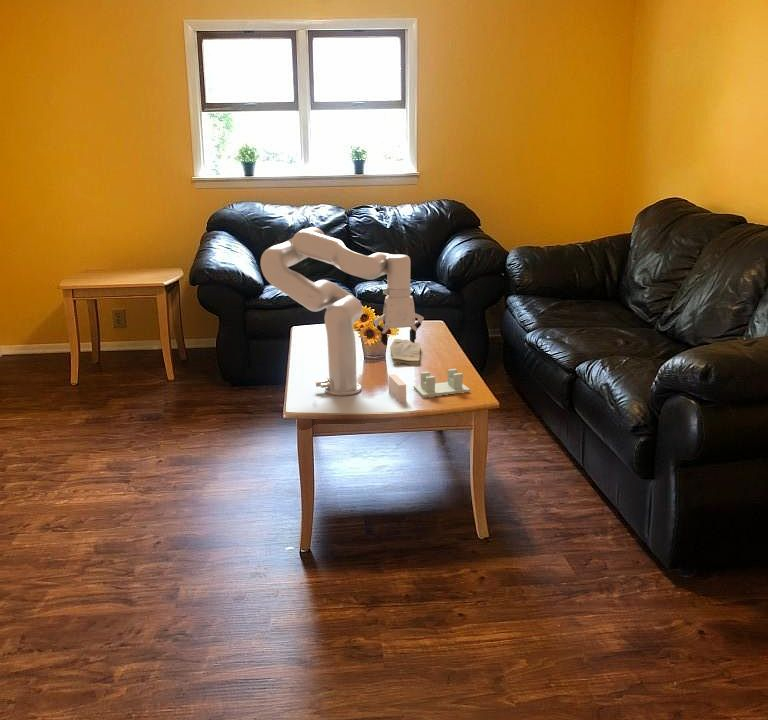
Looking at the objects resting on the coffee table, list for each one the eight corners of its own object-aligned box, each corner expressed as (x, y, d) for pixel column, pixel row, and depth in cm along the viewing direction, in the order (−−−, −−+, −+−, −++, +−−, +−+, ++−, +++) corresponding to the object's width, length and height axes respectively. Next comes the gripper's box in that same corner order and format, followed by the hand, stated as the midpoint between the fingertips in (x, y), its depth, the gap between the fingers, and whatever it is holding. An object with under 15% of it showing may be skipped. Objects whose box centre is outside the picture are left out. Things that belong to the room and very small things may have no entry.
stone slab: (419, 338, 319) (421, 355, 290) (419, 347, 320) (421, 366, 291) (390, 337, 320) (389, 355, 291) (390, 347, 321) (389, 366, 292)
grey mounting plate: (422, 398, 255) (422, 380, 254) (413, 389, 265) (413, 371, 263) (469, 392, 260) (470, 374, 258) (458, 383, 269) (459, 366, 267)
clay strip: (406, 401, 253) (406, 384, 251) (399, 402, 252) (398, 385, 250) (395, 390, 264) (395, 374, 262) (388, 391, 263) (388, 374, 262)
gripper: (376, 296, 243) (377, 348, 248) (427, 293, 247) (426, 343, 253) (370, 292, 249) (370, 342, 254) (419, 288, 254) (419, 338, 259)
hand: (398, 343), depth 253 cm, fingers open, 9 cm apart
